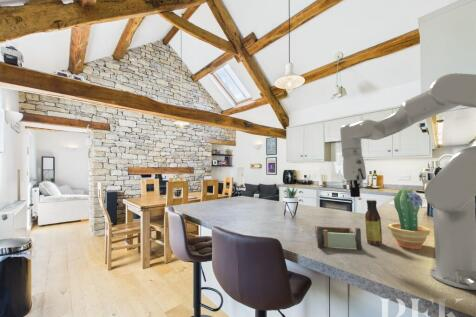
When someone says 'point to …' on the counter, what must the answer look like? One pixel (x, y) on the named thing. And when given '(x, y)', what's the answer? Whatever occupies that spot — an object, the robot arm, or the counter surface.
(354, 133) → the robot arm
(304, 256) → the counter surface
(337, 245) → the gate
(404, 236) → the potted cactus
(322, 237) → the pen fence
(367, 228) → the sauce bottle
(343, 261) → the counter surface
